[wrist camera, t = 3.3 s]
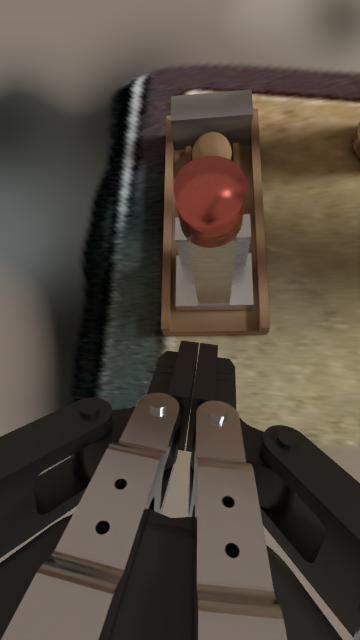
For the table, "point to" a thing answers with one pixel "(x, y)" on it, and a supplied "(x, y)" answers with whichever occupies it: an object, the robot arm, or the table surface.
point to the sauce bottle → (357, 142)
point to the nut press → (243, 135)
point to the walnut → (212, 146)
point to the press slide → (212, 237)
